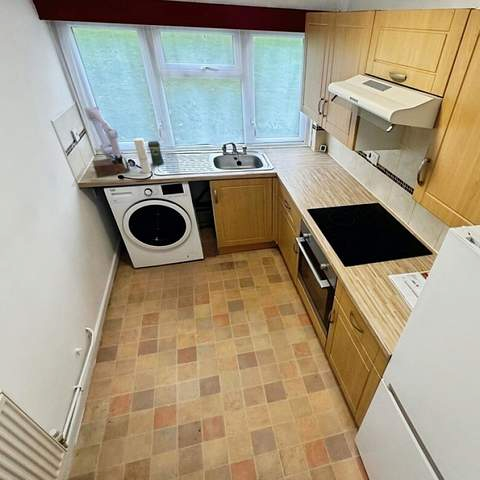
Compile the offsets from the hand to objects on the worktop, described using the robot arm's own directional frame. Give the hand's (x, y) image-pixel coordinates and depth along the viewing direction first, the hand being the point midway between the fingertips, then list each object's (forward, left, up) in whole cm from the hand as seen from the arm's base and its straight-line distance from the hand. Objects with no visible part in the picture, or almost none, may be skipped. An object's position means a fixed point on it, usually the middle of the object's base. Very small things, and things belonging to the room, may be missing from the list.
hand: (120, 164), depth 242 cm
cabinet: (+10, -8, -5) cm, 14 cm away
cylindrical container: (-5, +19, -5) cm, 21 cm away
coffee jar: (-24, +17, -5) cm, 30 cm away
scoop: (+2, -2, -1) cm, 2 cm away
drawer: (0, +1, -4) cm, 4 cm away
